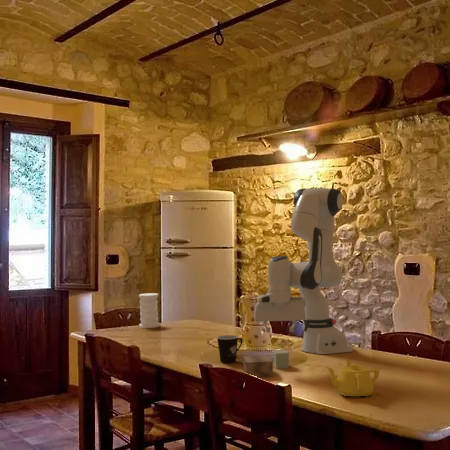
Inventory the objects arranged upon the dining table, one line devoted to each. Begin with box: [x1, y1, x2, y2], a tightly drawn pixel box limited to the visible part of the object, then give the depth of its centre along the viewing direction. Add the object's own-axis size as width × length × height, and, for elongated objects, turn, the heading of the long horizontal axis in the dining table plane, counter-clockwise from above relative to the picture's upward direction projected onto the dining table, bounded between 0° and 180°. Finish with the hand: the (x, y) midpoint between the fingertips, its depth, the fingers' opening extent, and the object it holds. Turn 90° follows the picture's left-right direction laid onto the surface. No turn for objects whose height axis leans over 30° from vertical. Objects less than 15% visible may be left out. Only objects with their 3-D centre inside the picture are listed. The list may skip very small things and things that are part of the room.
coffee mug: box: [216, 334, 243, 364], centre depth 248 cm, size 12×9×10 cm
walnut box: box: [242, 354, 274, 378], centre depth 227 cm, size 10×10×6 cm
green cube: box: [273, 349, 290, 369], centre depth 237 cm, size 5×5×6 cm
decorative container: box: [138, 292, 161, 329], centre depth 336 cm, size 12×12×18 cm
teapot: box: [325, 358, 380, 397], centre depth 198 cm, size 14×13×10 cm
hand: (279, 332), depth 236 cm, fingers open, 8 cm apart
